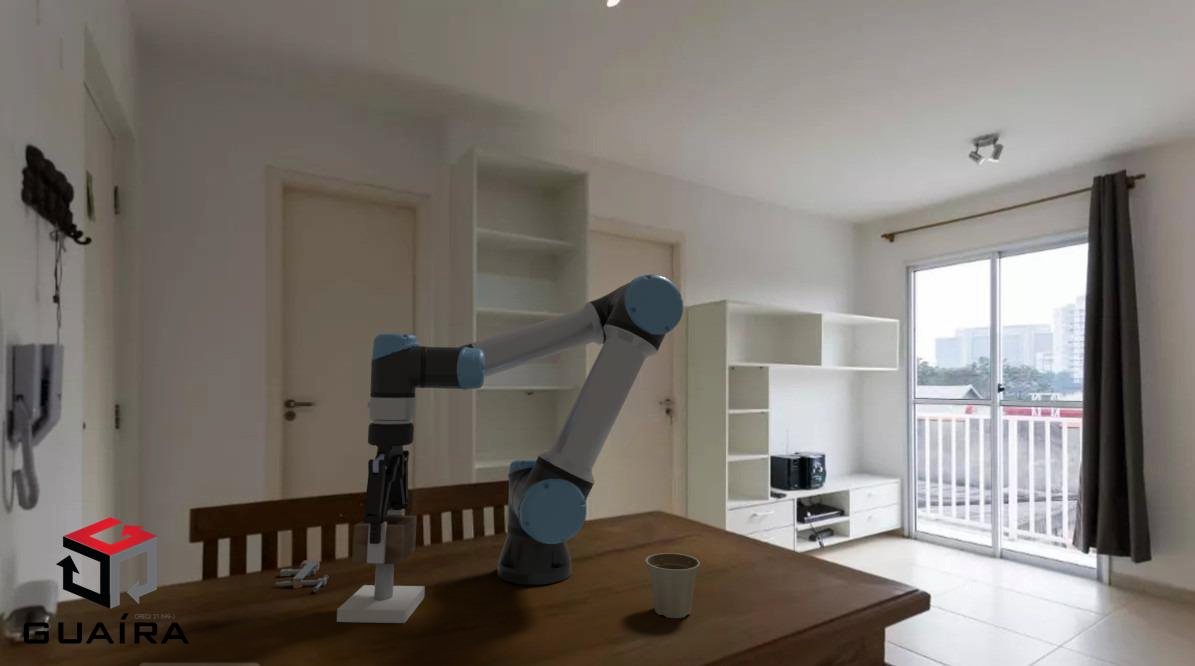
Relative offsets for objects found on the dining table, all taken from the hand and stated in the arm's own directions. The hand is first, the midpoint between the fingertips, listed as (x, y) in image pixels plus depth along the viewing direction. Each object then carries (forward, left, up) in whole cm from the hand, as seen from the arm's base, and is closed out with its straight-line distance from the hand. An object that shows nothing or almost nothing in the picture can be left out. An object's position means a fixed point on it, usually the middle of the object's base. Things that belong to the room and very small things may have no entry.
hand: (385, 554), depth 101 cm
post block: (0, 0, -9) cm, 9 cm away
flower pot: (-50, -1, -9) cm, 51 cm away
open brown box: (0, 0, 0) cm, 0 cm away
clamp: (+20, -13, -10) cm, 26 cm away
